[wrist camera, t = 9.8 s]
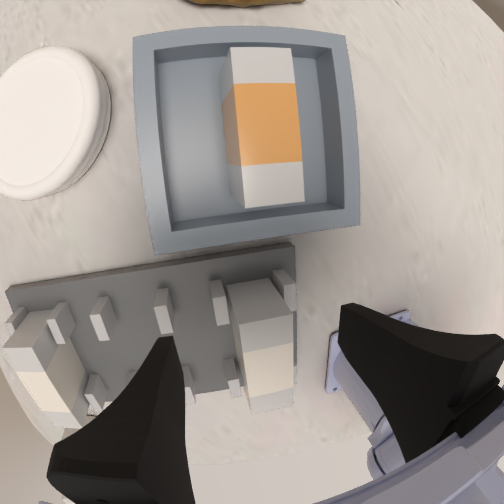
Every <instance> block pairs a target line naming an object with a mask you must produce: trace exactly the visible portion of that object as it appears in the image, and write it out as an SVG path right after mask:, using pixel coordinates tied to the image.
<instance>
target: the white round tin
mask: <svg viewBox="0 0 504 504" xmlns="http://www.w3.org/2000/svg"><path fill="white" fill-rule="evenodd" d="M110 114H111V100H110V93H109V89H108V86H107V83H106V81H105V78H104V76H103V75H102V73H101V72H100V70H99V69H98V68H97V67H96V66H95V65H93V63H92V62H91V61H90V60H88V59H87V58H86V57H85V56H84V55H83V54H82V53H80V52H79V51H77V50H75V49H72V48H69V47H65V46H47V47H43V48H39V49H36V50H34V51H31V52H29V53H28V54H26V55H24V56H22V57H21V58H20V59H18V60H17V61H16V62H14V63H13V64H12V65H11V66H10V67H9V68H8V69H7V70H6V71H5V72H4V73H3V74H2V76H1V77H0V193H1V194H2V195H4V196H6V197H9V198H12V199H15V200H23V201H26V200H35V199H39V198H42V197H45V196H48V195H51V194H54V193H57V192H60V191H62V190H64V189H66V188H68V187H69V186H71V185H72V184H74V183H75V182H76V181H77V180H79V179H80V178H81V177H82V176H83V175H84V174H85V172H86V171H87V170H88V169H89V168H90V166H91V165H92V164H93V162H94V161H95V159H96V157H97V156H98V154H99V152H100V150H101V148H102V146H103V143H104V141H105V138H106V135H107V132H108V127H109V123H110Z"/></svg>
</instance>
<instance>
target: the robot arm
mask: <svg viewBox="0 0 504 504" xmlns="http://www.w3.org/2000/svg"><path fill="white" fill-rule="evenodd" d="M410 316H411V312H410V311H409V310H406V311H403V312H400V313H397V314H394V315H391V316H386V315H384V314H381V313H379V312H376V311H374V310H372V309H369V308H367V307H364V306H361V305H359V304H355V303H349V304H345V305H341V311H340V322H339V332H337V333H334V334H333V335H332V336H331V338H330V348H329V359H328V369H327V379H326V387H325V391H326V393H328V394H329V393H333V392H336V391H339V390H342V389H343V390H344V392H345V393H346V395H347V396H348V398H349V399H350V401H351V402H352V404H353V405H354V407H355V408H356V410H357V411H358V413H359V414H360V415H361V417H362V418H363V420H364V421H365V423H366V424H367V426H368V427H369V429H370V430H371V432H372V434H371V435H370V436H369V437H368V440H369V441H370V443H371V445H372V446H373V447H371V448H370V449H369V451H368V453H367V465H368V469H369V471H370V474H371V476H372V477H373V479H374V480H373V481H371V482H369V483H367V484H364V485H362V486H360V487H357V488H355V489H353V490H350V491H347V492H345V493H342V494H340V495H337V496H334V497H332V498H329V499H326V500H323V501H320V502H317V503H314V504H504V473H503V472H502V471H501V470H500V469H499V467H498V466H497V462H498V460H499V459H500V458H501V457H502V456H503V455H504V385H503V387H502V388H501V387H499V386H498V384H499V382H500V380H499V379H498V378H497V377H496V375H497V372H498V371H499V369H500V366H501V365H502V363H503V361H504V339H503V338H501V337H500V336H499V335H497V334H484V335H464V334H452V333H445V332H439V331H434V330H429V329H425V328H421V327H419V326H417V325H416V324H415V323H414V322H412V321H411V320H410ZM47 479H48V481H49V482H50V484H51V485H52V486H53V487H55V489H57V490H58V491H59V492H60V493H62V494H63V495H64V496H66V497H67V498H68V499H69V500H71V501H72V502H74V503H75V504H195V499H194V495H193V491H192V485H191V480H190V474H189V468H188V461H187V454H186V446H185V384H184V374H183V370H182V367H181V363H180V360H179V356H178V353H177V349H176V345H175V342H174V338H173V336H166V337H158V339H157V340H156V342H155V343H154V345H153V347H152V348H151V350H150V352H149V354H148V355H147V357H146V359H145V360H144V362H143V363H142V365H141V366H140V368H139V369H138V371H137V372H136V374H135V375H134V377H133V378H132V379H131V381H130V382H129V383H128V385H127V386H126V387H125V389H124V390H123V391H122V392H121V393H120V395H119V396H118V397H117V398H116V399H115V400H114V401H113V402H112V403H111V404H110V405H109V406H108V407H107V408H106V409H105V410H103V411H102V412H101V413H100V414H99V415H98V416H97V417H96V418H94V419H93V420H92V421H91V422H89V423H88V424H87V425H85V426H84V427H82V428H81V429H80V430H78V431H77V432H75V433H73V434H72V435H70V436H68V437H66V438H65V439H63V440H61V441H60V442H58V443H56V444H55V445H54V447H53V451H52V454H51V458H50V462H49V466H48V471H47ZM39 504H51V503H48V502H44V501H39Z"/></svg>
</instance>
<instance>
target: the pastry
mask: <svg viewBox="0 0 504 504" xmlns="http://www.w3.org/2000/svg"><path fill="white" fill-rule="evenodd" d="M188 1H190V2H192V3H197V4H221V5H232V6H236V7H242V8H245V7H248V6H252V5H255V6H257V5H276V4H285V3H291V2H301V1H305V0H188Z"/></svg>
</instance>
